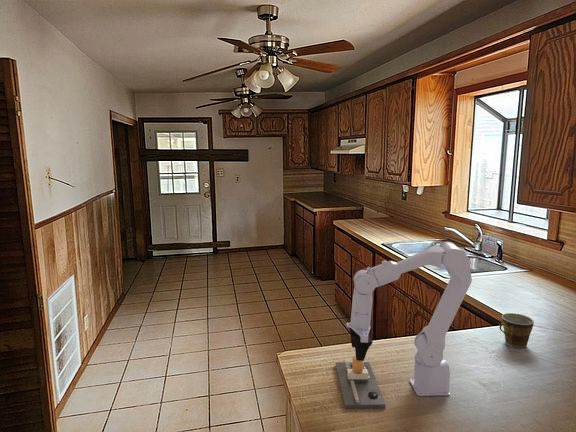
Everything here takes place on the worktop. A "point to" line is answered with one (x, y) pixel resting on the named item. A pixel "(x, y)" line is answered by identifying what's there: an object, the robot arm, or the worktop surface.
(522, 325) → the ceramic cup
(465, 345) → the worktop surface
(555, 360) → the worktop surface
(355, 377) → the block with orange knob
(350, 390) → the hole plate
